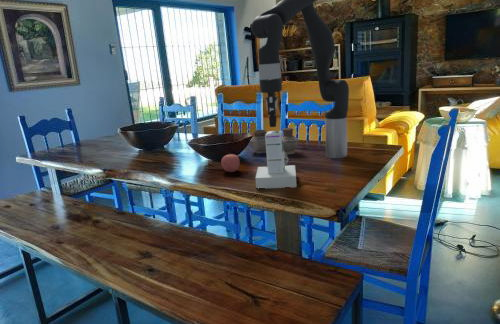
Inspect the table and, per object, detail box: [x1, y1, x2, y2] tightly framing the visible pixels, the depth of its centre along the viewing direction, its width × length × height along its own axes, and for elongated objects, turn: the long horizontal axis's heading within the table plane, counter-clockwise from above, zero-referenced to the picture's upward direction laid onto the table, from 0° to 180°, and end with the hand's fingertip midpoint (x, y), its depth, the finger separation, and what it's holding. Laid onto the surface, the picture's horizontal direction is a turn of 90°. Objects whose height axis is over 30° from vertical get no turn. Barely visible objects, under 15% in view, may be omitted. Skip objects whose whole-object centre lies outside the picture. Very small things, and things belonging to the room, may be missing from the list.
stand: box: [255, 164, 297, 190], centre depth 134 cm, size 14×14×4 cm
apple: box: [220, 153, 240, 173], centre depth 151 cm, size 7×7×8 cm
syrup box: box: [265, 130, 285, 174], centre depth 132 cm, size 6×6×14 cm
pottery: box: [249, 127, 300, 155], centre depth 178 cm, size 11×25×12 cm, turn 65°
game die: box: [284, 150, 292, 166], centre depth 150 cm, size 9×8×10 cm
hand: (273, 124), depth 130 cm, fingers open, 8 cm apart
